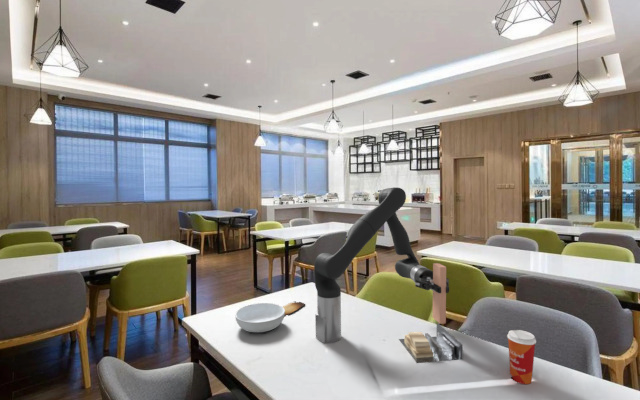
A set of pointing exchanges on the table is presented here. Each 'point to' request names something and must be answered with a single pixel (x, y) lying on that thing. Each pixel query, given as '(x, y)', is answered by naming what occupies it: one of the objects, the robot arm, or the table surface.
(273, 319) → the serving bowl
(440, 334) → the rack
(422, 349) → the offcut stack
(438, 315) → the pink rectangular bar
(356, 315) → the table surface
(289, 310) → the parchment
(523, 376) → the paper cup
